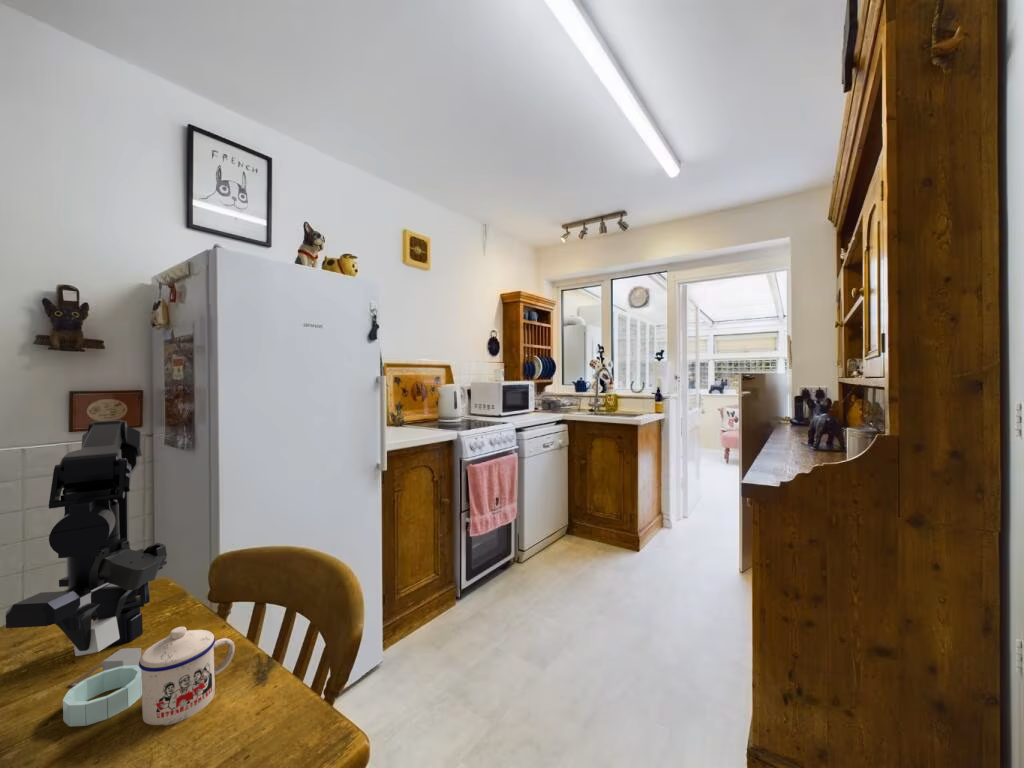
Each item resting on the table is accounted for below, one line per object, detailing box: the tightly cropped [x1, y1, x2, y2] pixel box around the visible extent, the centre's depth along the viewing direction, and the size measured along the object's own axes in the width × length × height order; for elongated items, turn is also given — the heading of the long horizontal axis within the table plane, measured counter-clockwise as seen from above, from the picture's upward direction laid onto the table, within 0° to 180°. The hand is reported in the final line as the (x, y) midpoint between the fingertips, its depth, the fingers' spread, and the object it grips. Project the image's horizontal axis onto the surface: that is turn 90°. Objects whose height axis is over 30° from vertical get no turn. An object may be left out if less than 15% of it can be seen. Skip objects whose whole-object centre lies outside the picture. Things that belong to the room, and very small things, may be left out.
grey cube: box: [102, 647, 142, 671], centre depth 72 cm, size 3×3×3 cm
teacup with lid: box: [139, 626, 236, 727], centre depth 66 cm, size 12×9×12 cm
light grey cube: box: [73, 617, 120, 657], centre depth 64 cm, size 3×3×3 cm
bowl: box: [62, 665, 142, 727], centre depth 65 cm, size 9×9×4 cm
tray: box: [67, 661, 103, 688], centre depth 73 cm, size 8×7×1 cm
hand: (96, 642), depth 64 cm, fingers closed on light grey cube, 3 cm apart
